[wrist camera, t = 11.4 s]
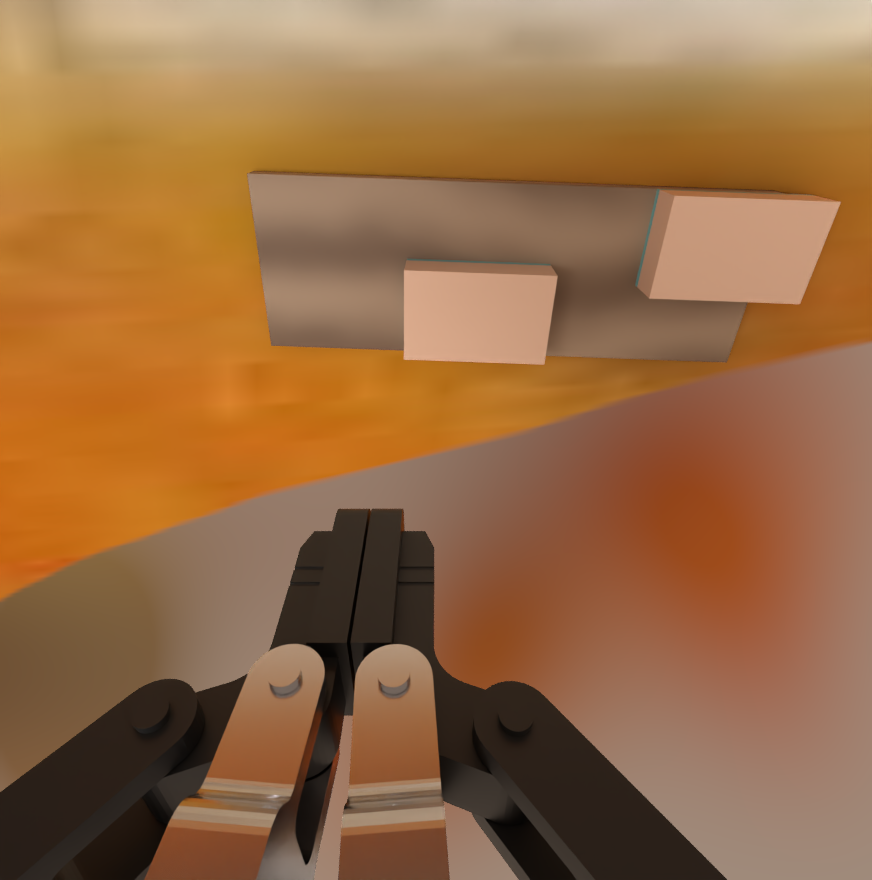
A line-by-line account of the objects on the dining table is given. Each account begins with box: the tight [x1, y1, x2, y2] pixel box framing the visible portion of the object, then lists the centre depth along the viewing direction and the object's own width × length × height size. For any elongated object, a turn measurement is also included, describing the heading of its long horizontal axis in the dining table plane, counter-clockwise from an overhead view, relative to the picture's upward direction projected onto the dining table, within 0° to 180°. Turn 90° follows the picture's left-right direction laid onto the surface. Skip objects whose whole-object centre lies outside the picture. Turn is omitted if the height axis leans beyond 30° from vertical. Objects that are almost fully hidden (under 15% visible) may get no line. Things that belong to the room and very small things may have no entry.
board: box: [247, 171, 785, 362], centre depth 31 cm, size 10×28×1 cm, turn 88°
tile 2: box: [635, 189, 841, 304], centre depth 28 cm, size 5×2×8 cm
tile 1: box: [404, 259, 558, 365], centre depth 30 cm, size 5×2×8 cm
